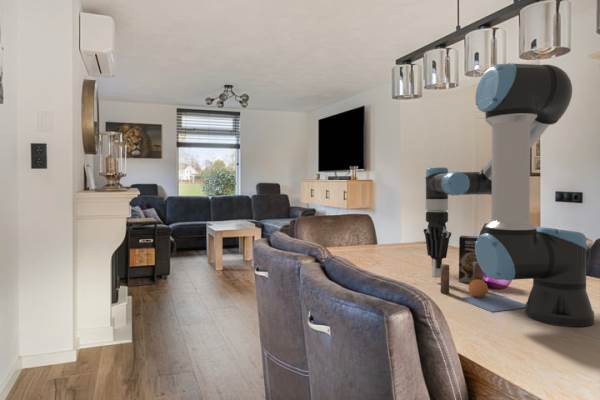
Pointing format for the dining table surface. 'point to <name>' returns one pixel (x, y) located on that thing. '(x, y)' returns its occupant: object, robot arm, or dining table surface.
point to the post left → (444, 278)
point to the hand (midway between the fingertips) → (436, 276)
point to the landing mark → (493, 303)
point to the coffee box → (466, 257)
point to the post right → (477, 271)
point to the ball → (478, 288)
